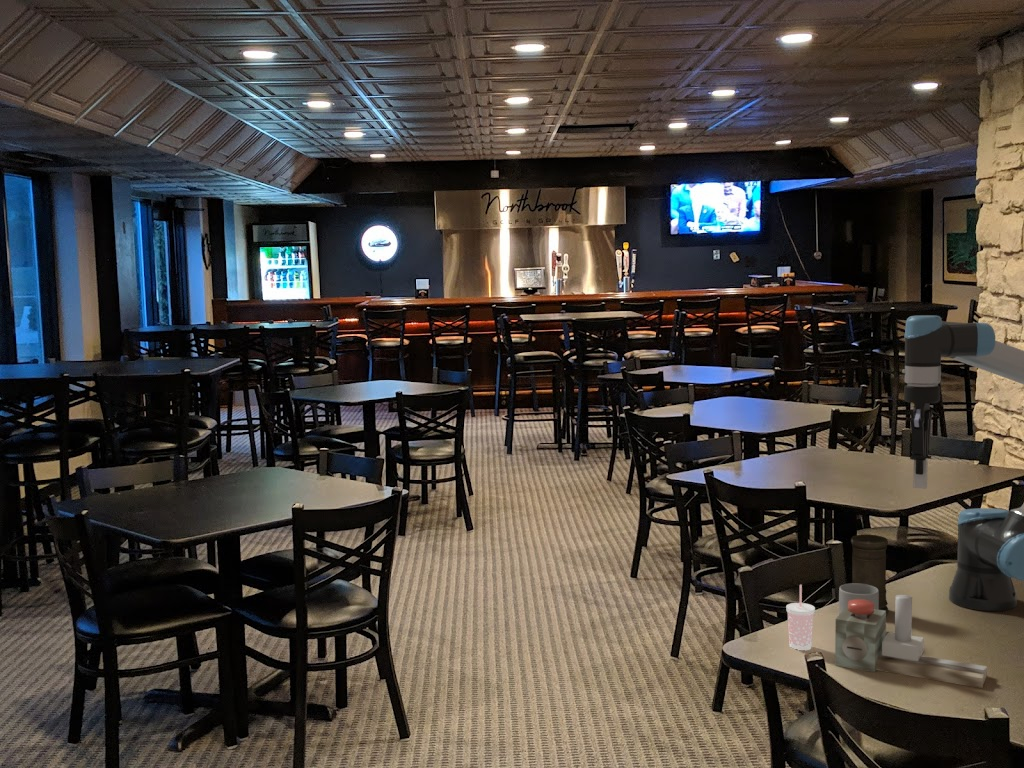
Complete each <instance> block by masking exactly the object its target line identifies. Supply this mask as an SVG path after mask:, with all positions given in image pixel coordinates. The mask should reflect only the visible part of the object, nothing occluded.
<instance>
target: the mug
mask: <svg viewBox="0 0 1024 768" xmlns="http://www.w3.org/2000/svg"><path fill="white" fill-rule="evenodd" d="M854 599H863V600H868V601H871V602H873V603H874V609H878V610H879V591H878V589H877V588H876V587H874V586H871V585H867V584H859V583H852V582H851V583H845V584H842V585H840V586H839V590H838V615H839V614H840V613H841V612H842V611H843V610H844V609H845V607H846V606H847V605H848V601H850V600H854Z"/></svg>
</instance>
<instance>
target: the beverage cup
mask: <svg viewBox="0 0 1024 768" xmlns="http://www.w3.org/2000/svg"><path fill="white" fill-rule="evenodd" d="M802 586H803V584H799V599H798V600H799V602H791V603H788V604H786V606H785V608H786V609H785V610H786V612H787V625H788V626H787V627H788V641H789V643H788V644H789V648H790V647H792V648H794V649H798V650H797V651H799V650H805V651H809V650H811V649H812V641H813V626H814V615H815V612H816V607H815V606H814V605H812V604H810V603H805V602H804V603H803V602H802V601H803V599H802V598H803V596H802V595H803V594H802V593H803V587H802ZM792 648H791V649H792ZM794 649H793V650H794Z"/></svg>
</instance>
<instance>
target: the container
mask: <svg viewBox="0 0 1024 768" xmlns="http://www.w3.org/2000/svg"><path fill="white" fill-rule="evenodd" d="M850 543H851V547H852V548H851V549H852V554H851V557H852V560H851V564H852V565H851V573H852V574H851V580H852V581H851V583H859V584H867V585H871V586H874V587H876V588H877V589H878V591H879V610H885V611H886V615H888V612H889V608H888V604H889V603H888V600H887V588H886V587H887V585H886V584H887V583H886V581H887V574H886V573H887V554H886V553H887V552H886V551H887V549H888V544H889V540H888V539H887V538H886V537H884V536H881V535H876V534H856V535H853V536H851V538H850Z"/></svg>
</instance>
